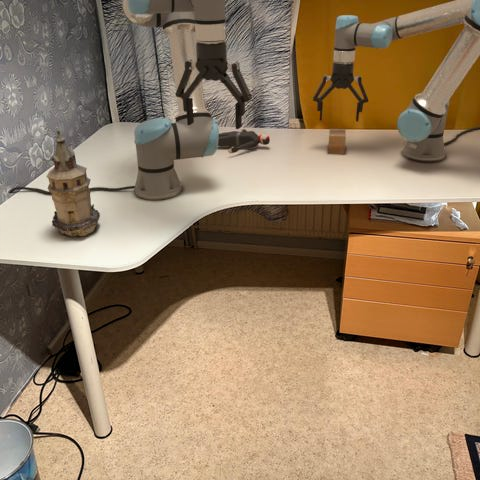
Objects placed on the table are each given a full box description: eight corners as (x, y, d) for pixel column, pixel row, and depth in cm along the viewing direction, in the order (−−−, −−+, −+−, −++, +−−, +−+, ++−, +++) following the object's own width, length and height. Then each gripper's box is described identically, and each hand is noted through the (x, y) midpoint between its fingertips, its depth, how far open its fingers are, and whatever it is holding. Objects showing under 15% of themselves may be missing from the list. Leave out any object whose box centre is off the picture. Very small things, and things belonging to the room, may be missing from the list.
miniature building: (80, 214, 164) (63, 117, 149) (111, 225, 157) (96, 125, 142) (44, 231, 154) (22, 130, 140) (75, 244, 147) (55, 139, 133)
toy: (204, 122, 226) (274, 122, 220) (205, 136, 229) (274, 137, 223) (186, 142, 204) (264, 143, 198) (188, 157, 207) (264, 159, 201)
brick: (344, 154, 206) (345, 136, 202) (328, 153, 207) (329, 135, 203) (344, 146, 213) (345, 129, 210) (328, 146, 214) (329, 128, 211)
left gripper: (263, 40, 131) (263, 125, 142) (171, 37, 138) (177, 118, 149) (255, 45, 125) (255, 133, 136) (158, 41, 132) (165, 126, 142)
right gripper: (378, 60, 194) (371, 118, 205) (308, 59, 197) (305, 116, 208) (380, 64, 188) (373, 123, 198) (308, 63, 191) (305, 121, 201)
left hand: (214, 125), depth 142 cm, fingers open, 13 cm apart
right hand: (338, 120), depth 203 cm, fingers open, 13 cm apart
